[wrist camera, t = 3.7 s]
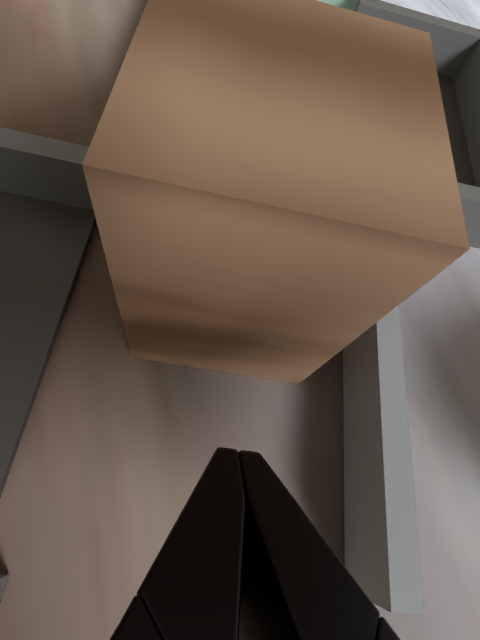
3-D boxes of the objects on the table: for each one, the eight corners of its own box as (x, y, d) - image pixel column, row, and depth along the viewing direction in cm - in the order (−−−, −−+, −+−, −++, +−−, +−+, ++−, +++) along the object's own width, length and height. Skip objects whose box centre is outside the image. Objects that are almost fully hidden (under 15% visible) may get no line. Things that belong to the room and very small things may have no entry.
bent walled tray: (593, 661, 14) (698, 703, 11) (-376, 584, 10) (-573, 618, 7) (457, 60, 29) (487, 17, 26) (53, -53, 25) (41, -117, 23)
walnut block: (298, 384, 16) (469, 248, 7) (131, 357, 15) (81, 164, 6) (308, 151, 22) (408, -84, 13) (189, 122, 21) (207, -149, 12)
